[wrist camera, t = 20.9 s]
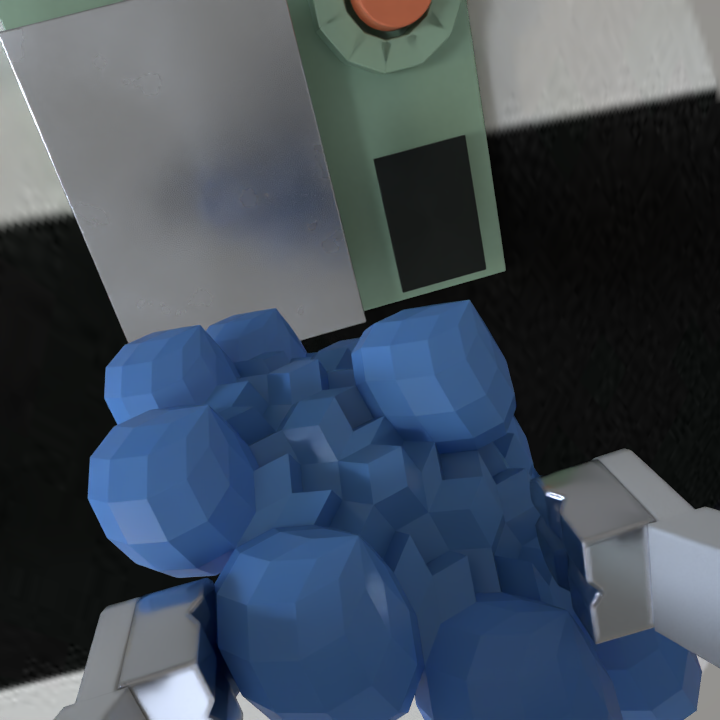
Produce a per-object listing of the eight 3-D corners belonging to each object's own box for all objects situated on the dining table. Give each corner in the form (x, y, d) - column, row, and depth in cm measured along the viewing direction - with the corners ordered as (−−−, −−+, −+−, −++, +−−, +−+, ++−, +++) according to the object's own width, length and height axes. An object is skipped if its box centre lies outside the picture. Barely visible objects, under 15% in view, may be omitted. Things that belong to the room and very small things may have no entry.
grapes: (579, 283, 19) (1036, 605, 8) (479, 471, 21) (731, 908, 10) (172, 139, 15) (35, 381, 4) (109, 386, 17) (-78, 921, 7)
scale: (440, -107, 26) (462, -129, 24) (496, 264, 33) (518, 279, 30) (3, 2, 25) (-27, -9, 23) (151, 361, 32) (142, 386, 29)
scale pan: (431, -72, 24) (439, -79, 23) (486, 278, 30) (496, 285, 29) (7, 35, 23) (-5, 32, 22) (149, 374, 29) (145, 385, 28)
